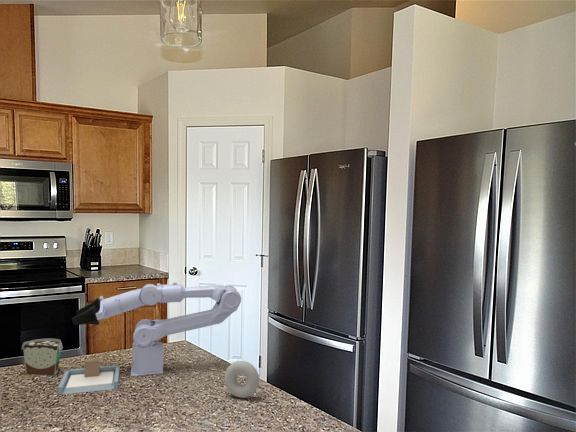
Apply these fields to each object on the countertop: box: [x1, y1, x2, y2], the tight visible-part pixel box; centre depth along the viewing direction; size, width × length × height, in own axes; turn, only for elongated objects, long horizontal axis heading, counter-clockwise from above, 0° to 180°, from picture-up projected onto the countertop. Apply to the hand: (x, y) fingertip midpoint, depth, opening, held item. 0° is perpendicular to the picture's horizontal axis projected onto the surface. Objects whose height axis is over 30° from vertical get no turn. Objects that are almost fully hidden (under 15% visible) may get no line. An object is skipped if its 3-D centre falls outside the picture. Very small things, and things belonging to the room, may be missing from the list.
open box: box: [57, 364, 121, 396], centre depth 133 cm, size 15×14×2 cm
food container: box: [21, 338, 64, 376], centre depth 142 cm, size 12×6×10 cm, turn 84°
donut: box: [224, 360, 260, 399], centre depth 124 cm, size 10×4×10 cm, turn 74°
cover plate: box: [66, 357, 114, 391], centre depth 133 cm, size 12×10×5 cm
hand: (75, 318), depth 138 cm, fingers open, 7 cm apart
